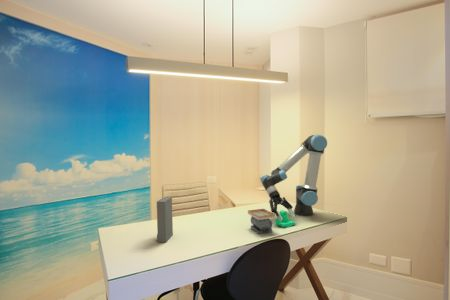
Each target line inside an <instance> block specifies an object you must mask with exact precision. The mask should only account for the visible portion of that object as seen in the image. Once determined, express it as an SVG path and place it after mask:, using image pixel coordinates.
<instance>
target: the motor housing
mask: <svg viewBox="0 0 450 300" xmlns="http://www.w3.org/2000/svg"><path fill="white" fill-rule="evenodd" d="M247 214H248V215H249V216H250V223H251V224H252V225H250V229H251V230H253V231H254V232H255V233H256V232H257V233H256V234H258V235H262V233H263V234H269V233H272V232H273V229H272V228H273V222H272V220H271V219H276V214H274V213H272V212H271V211H268V210H267V209H265V208H261V209H260V208H258V209H249V210H247Z"/></svg>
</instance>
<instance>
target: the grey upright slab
mask: <svg viewBox="0 0 450 300" xmlns="http://www.w3.org/2000/svg"><path fill="white" fill-rule="evenodd" d="M156 220H157V221H156V222H157V224H156V225H157V234H156V243H167V242H168V241H169V240H170V239H171V238H172V236H173V235H174V229H173V224H174V223H173V197H172V196H163V197H162V198H160V199H158V200H156Z"/></svg>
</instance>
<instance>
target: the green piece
mask: <svg viewBox="0 0 450 300" xmlns="http://www.w3.org/2000/svg"><path fill="white" fill-rule="evenodd" d="M279 213H280V215H281V217H282V220H281V221H280V220H279V219H278V217H277V216H276V220H275V222H274V223H275V225H277V226H279V227H284V228H290V227H292V226H293V225H296V221H294V220H291V219H290V218H289V216H288V212H287V211H286V210H284V209H283V210H280V211H279Z"/></svg>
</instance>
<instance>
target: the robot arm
mask: <svg viewBox="0 0 450 300" xmlns="http://www.w3.org/2000/svg"><path fill="white" fill-rule="evenodd" d="M327 146H328V140H327V138H326V137H325V136H324V135H322V134H313V135H312V134H311V135H310V136H308V137H307V138H306V139H305V140H304V141H303V142H302V143H300V146H299V147H298V148H297V149H296V150H295V151H294V152H293V153H292V154H290V156H288V157H287V158H286V159H285V160H284V161H282V163H281V164H280V165H278V167H276V168H275V169H273V170H271V173H270V174H271V175H269V174H264V175H262V176H261V177H260V182H261V184H262V185H263V187H264V189H265V192H266V193H267V195H268V197H269V200H268V203H269V206H270V207H269V208H270V212H271V213H273V214H275V217H276V218H277V217H278V219H279V220H280V221H281V220H282V217H281V215H280V211H279V210H278V205H281V206H282V207H284V208H285V209H287V211H288V212H287V213H288V214H289V215H290V216H291V218H292V219H295V218H296V216H301V217H302V216H306V217H310V216H313V215H314V210H313V207H312V206H315V205H316V204H317V203H318V200H319V197H318V187H317V183H318V182H317V181H318V177H319V176H318V175H319V170H320V165H321V164H320V163H321V159H322V158H321V157H322V155H324V152H325V149H326V148H327ZM307 154H309V155H308V160H307V167H306V172H305V178H304V184H302V185H296V187H295V207H294V209H293V206H292V205H291V203H290V202H289V201H288V200H287V199H286V198H285V197H284V196H283V197H281V194H280V192H279V191H278V189H277V188H276V186H275V185H276V184H279V183H281V182H283V181H285V180H286V179H287V178H288V176H287V175H288V174H287V172H288V171H289V170H290V169H291V168H293V167H294V166H295V165H296V164H298V162H299V161H300V160H301V159H303V158H304V157H305V156H306V155H307Z"/></svg>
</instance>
